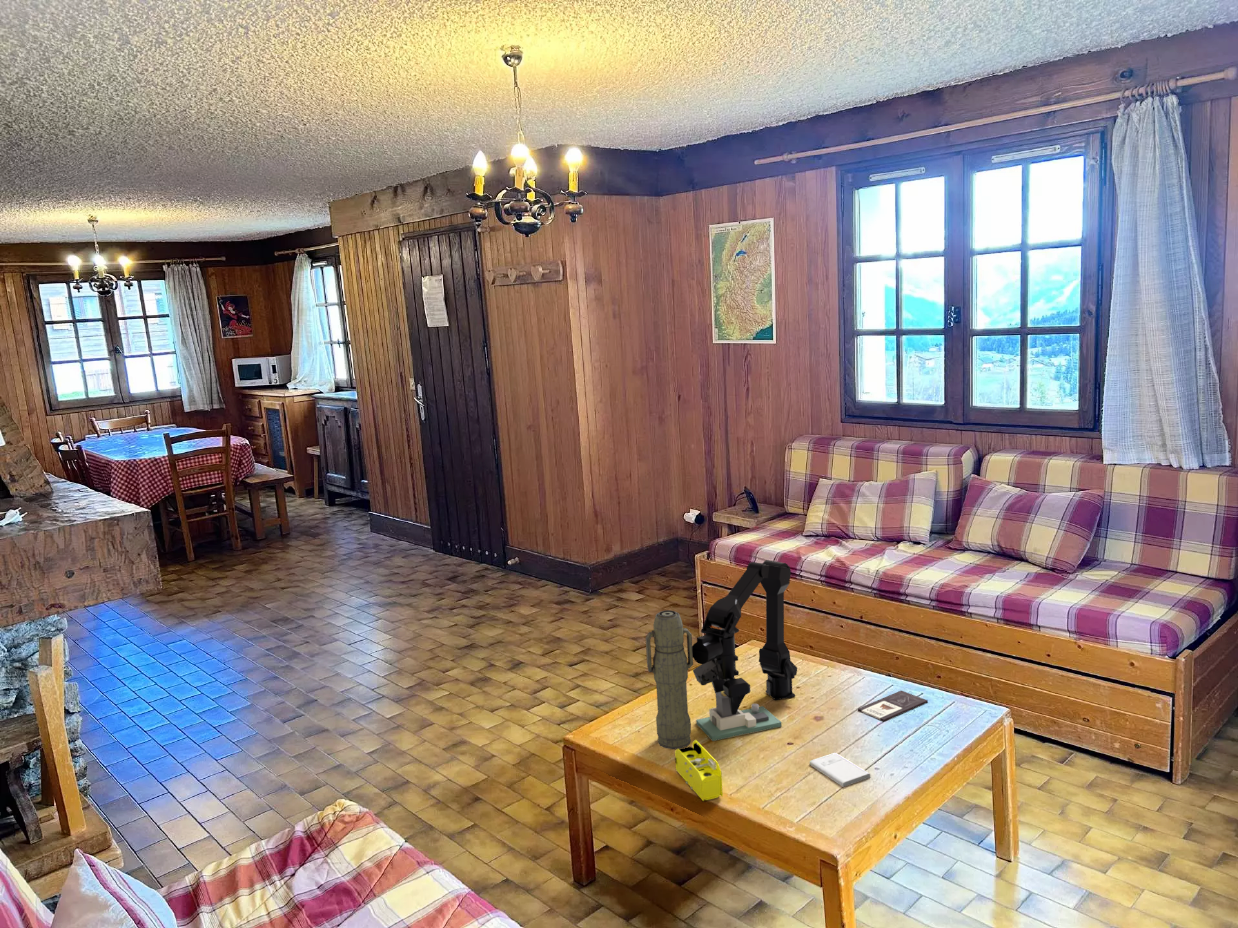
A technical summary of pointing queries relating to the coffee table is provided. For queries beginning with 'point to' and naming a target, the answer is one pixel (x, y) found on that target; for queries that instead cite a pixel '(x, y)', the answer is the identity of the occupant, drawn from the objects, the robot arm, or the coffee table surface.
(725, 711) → the plug
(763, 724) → the board
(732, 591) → the robot arm
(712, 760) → the yellow toy chassis
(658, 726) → the thermos
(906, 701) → the chocolate bar
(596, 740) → the coffee table surface
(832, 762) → the external hard drive
